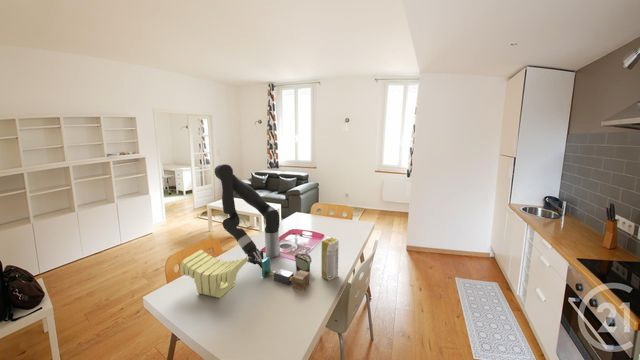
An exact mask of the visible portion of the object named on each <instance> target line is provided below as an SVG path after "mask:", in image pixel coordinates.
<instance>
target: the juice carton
mask: <svg viewBox="0 0 640 360" xmlns="http://www.w3.org/2000/svg"><path fill="white" fill-rule="evenodd" d="M320 260H321V262H320V263H321V267H320V268H321V271H320V273H321V278H323V279H325V280H327V281H328V282H330V281H331V280H333V279H335V278H337V277H339V240H338V239H336V238H334V237H330V236H327V237H325V239H322V240H321V259H320Z"/></svg>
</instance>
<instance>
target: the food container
mask: <svg viewBox="0 0 640 360" xmlns="http://www.w3.org/2000/svg"><path fill="white" fill-rule="evenodd" d="M294 258H295V267H296V268H295V270H296V271H297V272H298V271H300V270H302V271H306V272H309V273H310V272H311V263H312V262H313V261H312V257H311V255H309V254H307V253H297V254H294Z"/></svg>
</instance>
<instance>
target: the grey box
mask: <svg viewBox="0 0 640 360" xmlns="http://www.w3.org/2000/svg"><path fill="white" fill-rule="evenodd" d="M275 271H276V270H271V258H270V257H267V256H266V258H264V259H263V260H262V268H261V278H263V279H265V278H266V277H267V276H270V277H273V278H274V272H275ZM289 279H290V282H292V283H293V276H291V277H290V278H289Z"/></svg>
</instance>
